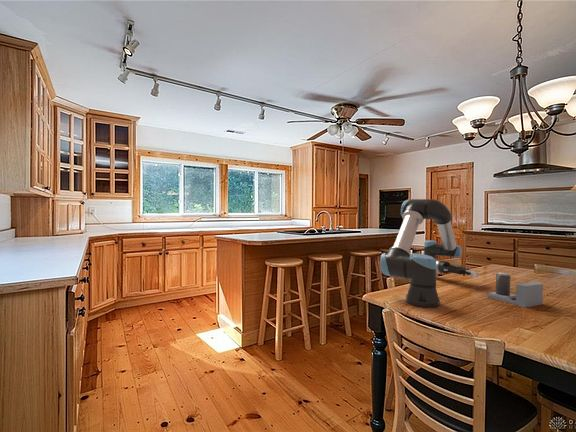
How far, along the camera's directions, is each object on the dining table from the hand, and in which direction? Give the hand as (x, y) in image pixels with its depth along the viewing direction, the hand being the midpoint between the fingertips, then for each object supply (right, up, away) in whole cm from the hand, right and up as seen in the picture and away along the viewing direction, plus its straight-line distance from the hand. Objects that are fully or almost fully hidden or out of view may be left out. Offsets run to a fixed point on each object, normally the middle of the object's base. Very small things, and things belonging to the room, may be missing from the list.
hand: (477, 274), depth 166 cm
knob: (+5, -9, -13) cm, 17 cm away
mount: (+6, -9, -17) cm, 21 cm away
